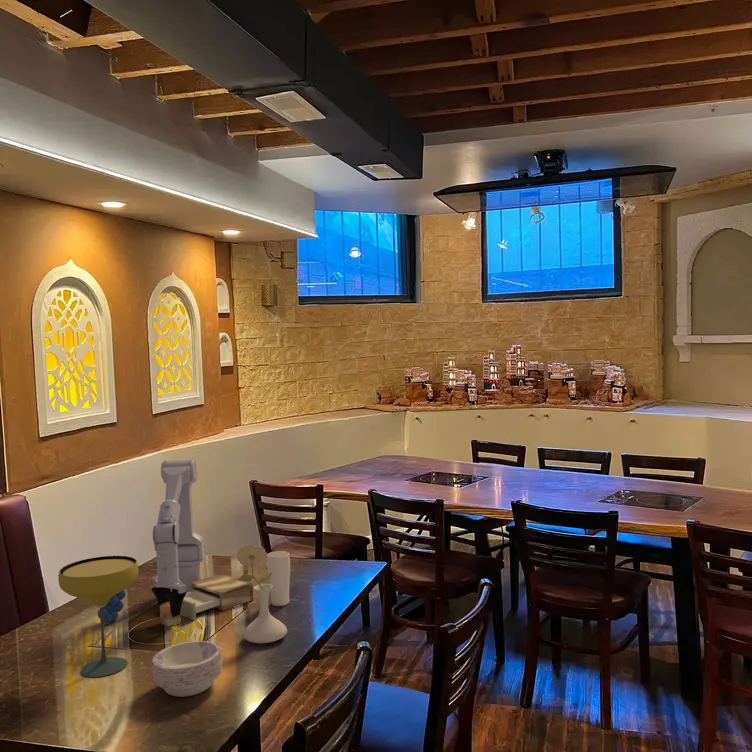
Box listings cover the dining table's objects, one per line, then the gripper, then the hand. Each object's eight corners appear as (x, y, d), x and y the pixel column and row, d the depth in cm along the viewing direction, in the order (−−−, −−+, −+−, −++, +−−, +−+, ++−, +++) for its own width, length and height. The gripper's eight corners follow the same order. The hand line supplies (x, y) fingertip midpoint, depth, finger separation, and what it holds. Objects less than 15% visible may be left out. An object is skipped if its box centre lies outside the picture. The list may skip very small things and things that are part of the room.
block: (160, 623, 204) (160, 611, 204) (173, 619, 207) (172, 607, 207) (168, 627, 201) (167, 614, 201) (180, 622, 204) (180, 610, 204)
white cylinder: (281, 598, 221) (278, 549, 221) (296, 602, 217) (294, 552, 216) (264, 604, 216) (261, 555, 215) (279, 609, 212) (277, 558, 211)
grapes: (111, 613, 214) (109, 573, 214) (132, 614, 212) (129, 574, 212) (86, 628, 203) (84, 586, 203) (107, 629, 201) (105, 587, 201)
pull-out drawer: (163, 607, 216) (162, 592, 216) (193, 598, 224) (192, 583, 224) (193, 620, 205) (192, 604, 205) (224, 609, 213) (223, 594, 213)
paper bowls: (141, 689, 164) (139, 655, 163) (200, 667, 174) (199, 634, 174) (175, 711, 153) (173, 674, 152) (236, 686, 163) (234, 651, 163)
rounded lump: (156, 611, 204) (156, 605, 204) (173, 606, 208) (173, 600, 208) (166, 615, 200) (166, 609, 200) (183, 610, 204) (183, 603, 204)
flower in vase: (294, 631, 194) (289, 539, 193) (276, 649, 183) (272, 551, 182) (249, 628, 197) (244, 537, 197) (230, 645, 186) (225, 549, 186)
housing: (191, 599, 224) (191, 582, 223) (221, 589, 232) (220, 573, 231) (223, 610, 212) (222, 593, 212) (253, 600, 220) (252, 583, 220)
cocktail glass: (48, 684, 168) (42, 577, 168) (89, 651, 186) (83, 555, 186) (121, 685, 166) (115, 577, 165) (155, 652, 184) (150, 555, 183)
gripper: (141, 564, 206) (144, 612, 206) (168, 573, 196) (171, 623, 196) (163, 558, 211) (166, 605, 211) (191, 567, 201) (194, 615, 201)
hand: (170, 613), depth 204 cm, fingers closed on rounded lump, 5 cm apart
